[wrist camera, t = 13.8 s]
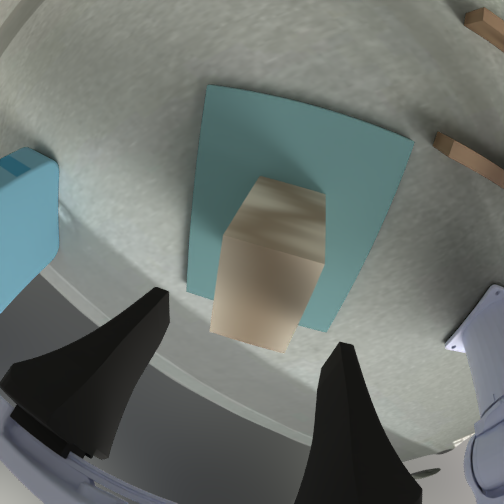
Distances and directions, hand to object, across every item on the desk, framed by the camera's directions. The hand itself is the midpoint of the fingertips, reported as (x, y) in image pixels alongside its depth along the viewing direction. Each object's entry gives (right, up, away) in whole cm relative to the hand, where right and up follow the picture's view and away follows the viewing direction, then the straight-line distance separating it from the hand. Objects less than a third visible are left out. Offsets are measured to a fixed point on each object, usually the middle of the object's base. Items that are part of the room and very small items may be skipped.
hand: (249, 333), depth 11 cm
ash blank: (+2, +5, +7) cm, 9 cm away
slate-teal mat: (+2, +5, +8) cm, 9 cm away
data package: (-21, +9, +12) cm, 25 cm away
